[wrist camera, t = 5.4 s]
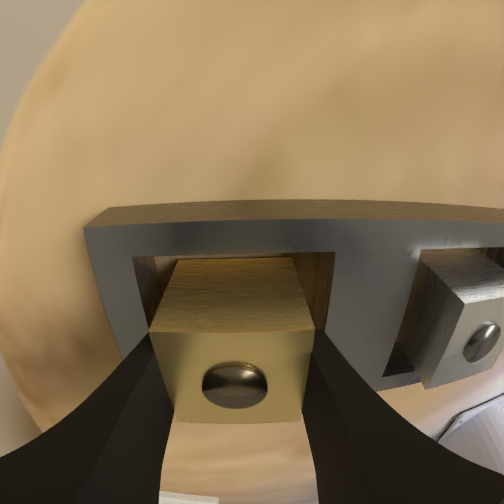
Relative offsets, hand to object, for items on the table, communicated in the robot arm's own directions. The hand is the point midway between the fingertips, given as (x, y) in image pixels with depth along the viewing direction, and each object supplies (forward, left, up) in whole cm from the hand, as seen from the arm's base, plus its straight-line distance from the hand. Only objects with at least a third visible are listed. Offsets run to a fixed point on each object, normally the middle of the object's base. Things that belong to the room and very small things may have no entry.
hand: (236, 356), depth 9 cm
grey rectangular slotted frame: (0, -4, -3) cm, 5 cm away
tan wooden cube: (0, 0, -3) cm, 3 cm away
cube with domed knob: (0, -9, -3) cm, 10 cm away
